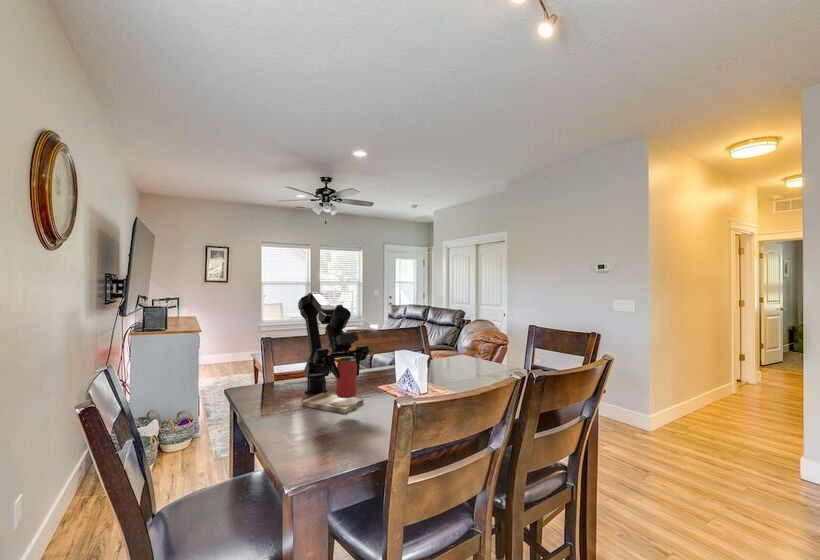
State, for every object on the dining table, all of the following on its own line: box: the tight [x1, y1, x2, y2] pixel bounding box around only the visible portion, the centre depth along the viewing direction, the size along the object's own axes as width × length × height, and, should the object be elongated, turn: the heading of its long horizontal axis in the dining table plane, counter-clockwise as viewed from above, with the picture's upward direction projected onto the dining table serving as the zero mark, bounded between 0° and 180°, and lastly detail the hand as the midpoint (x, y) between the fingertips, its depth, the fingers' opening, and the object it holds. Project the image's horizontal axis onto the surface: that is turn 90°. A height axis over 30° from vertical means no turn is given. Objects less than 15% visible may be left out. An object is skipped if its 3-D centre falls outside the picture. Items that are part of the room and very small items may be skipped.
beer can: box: [335, 357, 358, 398], centre depth 129 cm, size 7×7×12 cm
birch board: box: [301, 392, 364, 414], centre depth 139 cm, size 18×12×2 cm, turn 66°
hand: (348, 376), depth 128 cm, fingers closed on beer can, 7 cm apart
